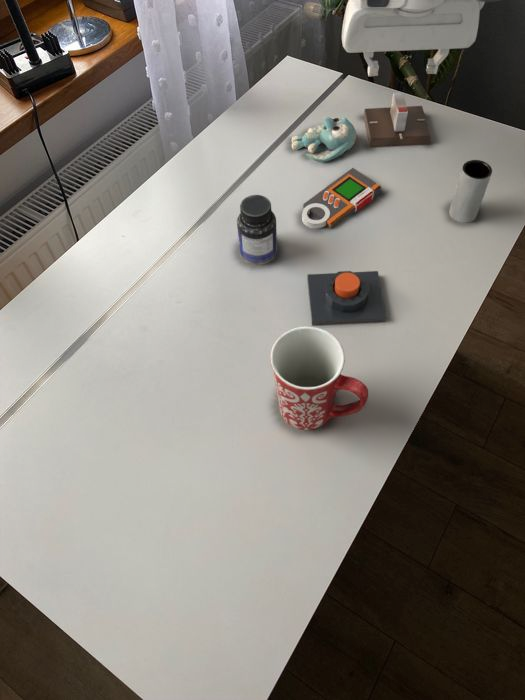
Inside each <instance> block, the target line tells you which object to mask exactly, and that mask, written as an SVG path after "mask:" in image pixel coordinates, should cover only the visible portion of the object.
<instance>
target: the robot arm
mask: <svg viewBox="0 0 525 700" xmlns="http://www.w3.org/2000/svg"><path fill="white" fill-rule="evenodd" d="M501 1H502V0H348V1H347V3H346V6H345V11H344V15H343V21H342V28H341V43H342V47H343V50H345V52H346V53H348V54H349V53H350V54H354V53H363V58H364V60H365V62H366V64H367V77H378V76H379V68H380V65H379V61H378V60H373V58H374V54H375V52H376V53H378V52H380V53H381V52H401V51H402V52H403V51H427V50H437V51H436V53H435V55H434V56H433V57H431V58H427V61H426V65H425V72H426V75H437V73H438V71H439V66H440V65H441V64H442V63H443V61H444V60H445V59H446V58H447V57H448V55H449V53H450V50H452V49H453V50H454V49H468V48H470V47H471V46H472V45H474V43H475V42H476V39H477V36H478V29H479V24H480V14H481V13H480V11H481V9H483V7H484V5H485V3H496V2H501Z"/></svg>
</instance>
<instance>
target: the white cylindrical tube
mask: <svg viewBox="0 0 525 700" xmlns="http://www.w3.org/2000/svg"><path fill="white" fill-rule="evenodd" d="M492 175H493V168H492V166H491V165H490V164H489V163H487V162H486V161H484V160H480V159H470V160H467V161H466V162H465V163H464V164H463V165H462V167H461V169H460V174H459V177H458V180H457V183H456V187H455V190H454V194H453V196H452V200H451V204H450V207H449V211H448V214H449V216H450V217H451V218H452V219H453V220H454V221H456V222H458V223H462V224H467V223H472V222H473V221H475V220H476V219H477V216H478V214H479V211H480V207H481V205H482V202H483V199H484V197H485V194H486V192H487V191H486V190H487V188H488V185H489V182H490V180H491V177H492Z"/></svg>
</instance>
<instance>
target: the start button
mask: <svg viewBox="0 0 525 700" xmlns="http://www.w3.org/2000/svg"><path fill="white" fill-rule="evenodd" d="M359 286H360V280H359V278H358V277H357V276H356V275H354V274H352V273H342V274H340V275H339V276H337V278H336V280H335V292H336V294H337V295H338V296H340V297H342V298H346V299H349V298H353V297H355V296H356V295H357V294H358V291H359Z"/></svg>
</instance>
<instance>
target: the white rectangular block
mask: <svg viewBox="0 0 525 700" xmlns="http://www.w3.org/2000/svg"><path fill="white" fill-rule="evenodd" d="M390 107H391V110H390V113H391V118H392V122H393V126H394V131H395V132H398V131H404V130H405V125H406V120H407V115H408V111H407V107H408V106H407V103H406V100H405V96H404V92H393V93H392V98H391V104H390Z"/></svg>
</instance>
